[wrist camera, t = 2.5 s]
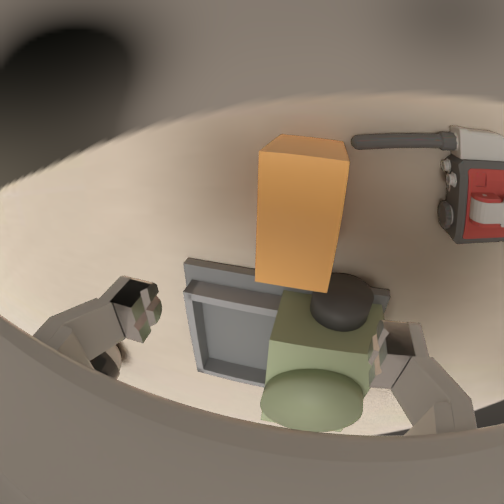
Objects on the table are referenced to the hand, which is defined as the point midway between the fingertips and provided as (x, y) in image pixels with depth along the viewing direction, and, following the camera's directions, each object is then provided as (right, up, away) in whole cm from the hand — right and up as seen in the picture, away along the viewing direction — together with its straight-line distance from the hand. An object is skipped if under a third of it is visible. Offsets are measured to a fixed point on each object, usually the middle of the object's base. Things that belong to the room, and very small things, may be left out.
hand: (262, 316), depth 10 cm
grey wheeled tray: (+2, -7, +20) cm, 21 cm away
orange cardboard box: (+4, +7, +11) cm, 14 cm away
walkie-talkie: (+17, +8, +7) cm, 20 cm away
